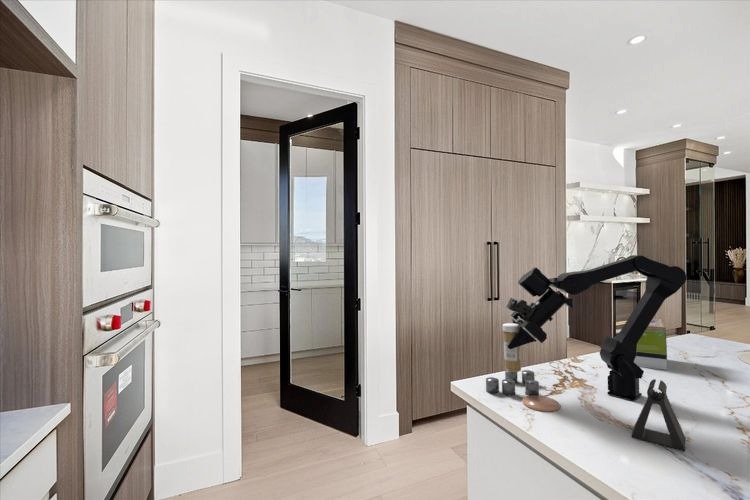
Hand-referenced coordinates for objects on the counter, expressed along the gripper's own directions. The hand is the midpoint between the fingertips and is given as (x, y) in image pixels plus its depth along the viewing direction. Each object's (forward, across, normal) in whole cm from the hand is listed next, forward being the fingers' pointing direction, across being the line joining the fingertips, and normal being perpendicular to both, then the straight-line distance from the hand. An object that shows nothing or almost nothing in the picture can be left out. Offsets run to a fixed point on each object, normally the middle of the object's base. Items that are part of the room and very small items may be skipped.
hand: (506, 345), depth 107 cm
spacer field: (+8, -2, +11) cm, 14 cm away
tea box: (-28, -32, +48) cm, 64 cm away
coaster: (+5, +9, +14) cm, 17 cm away
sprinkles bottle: (+4, 0, +6) cm, 7 cm away
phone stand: (-9, +24, +28) cm, 38 cm away
